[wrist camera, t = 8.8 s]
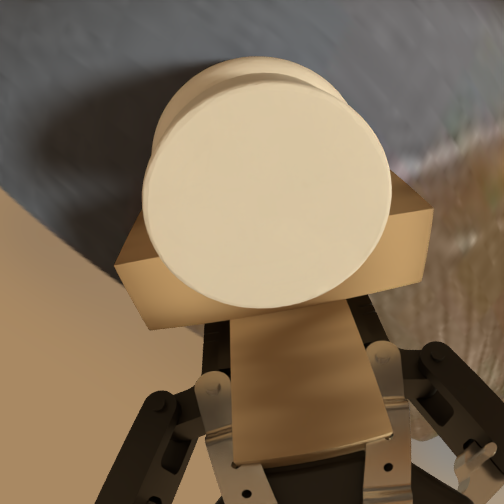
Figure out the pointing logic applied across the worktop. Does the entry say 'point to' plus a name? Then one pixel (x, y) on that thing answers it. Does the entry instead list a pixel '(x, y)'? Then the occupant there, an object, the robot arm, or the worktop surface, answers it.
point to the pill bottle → (264, 184)
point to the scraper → (293, 344)
